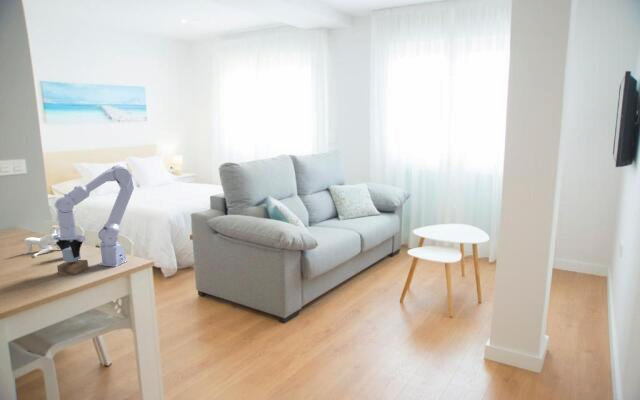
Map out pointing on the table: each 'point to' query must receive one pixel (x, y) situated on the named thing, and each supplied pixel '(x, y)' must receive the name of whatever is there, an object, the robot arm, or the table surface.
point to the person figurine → (43, 242)
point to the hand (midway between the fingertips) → (71, 256)
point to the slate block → (69, 255)
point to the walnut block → (72, 267)
